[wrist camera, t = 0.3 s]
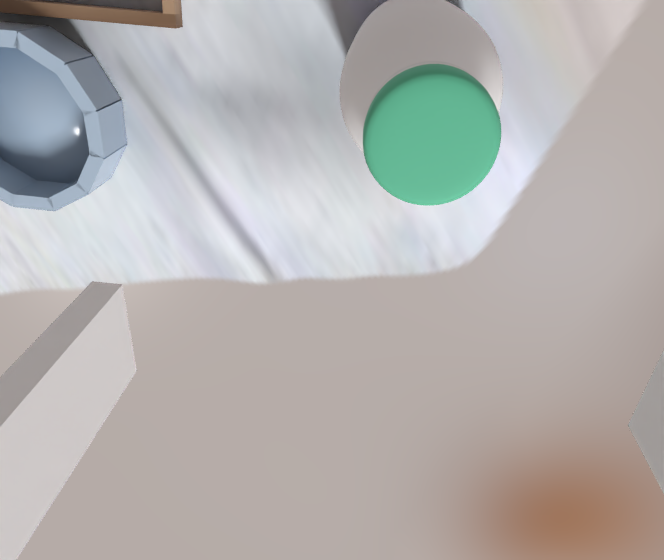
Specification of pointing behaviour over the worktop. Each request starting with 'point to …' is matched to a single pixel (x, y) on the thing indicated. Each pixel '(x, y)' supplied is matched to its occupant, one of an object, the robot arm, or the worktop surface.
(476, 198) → the worktop surface
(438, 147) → the milk bottle
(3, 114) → the bowl
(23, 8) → the empty rectangular wooden frame
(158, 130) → the worktop surface
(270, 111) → the worktop surface
